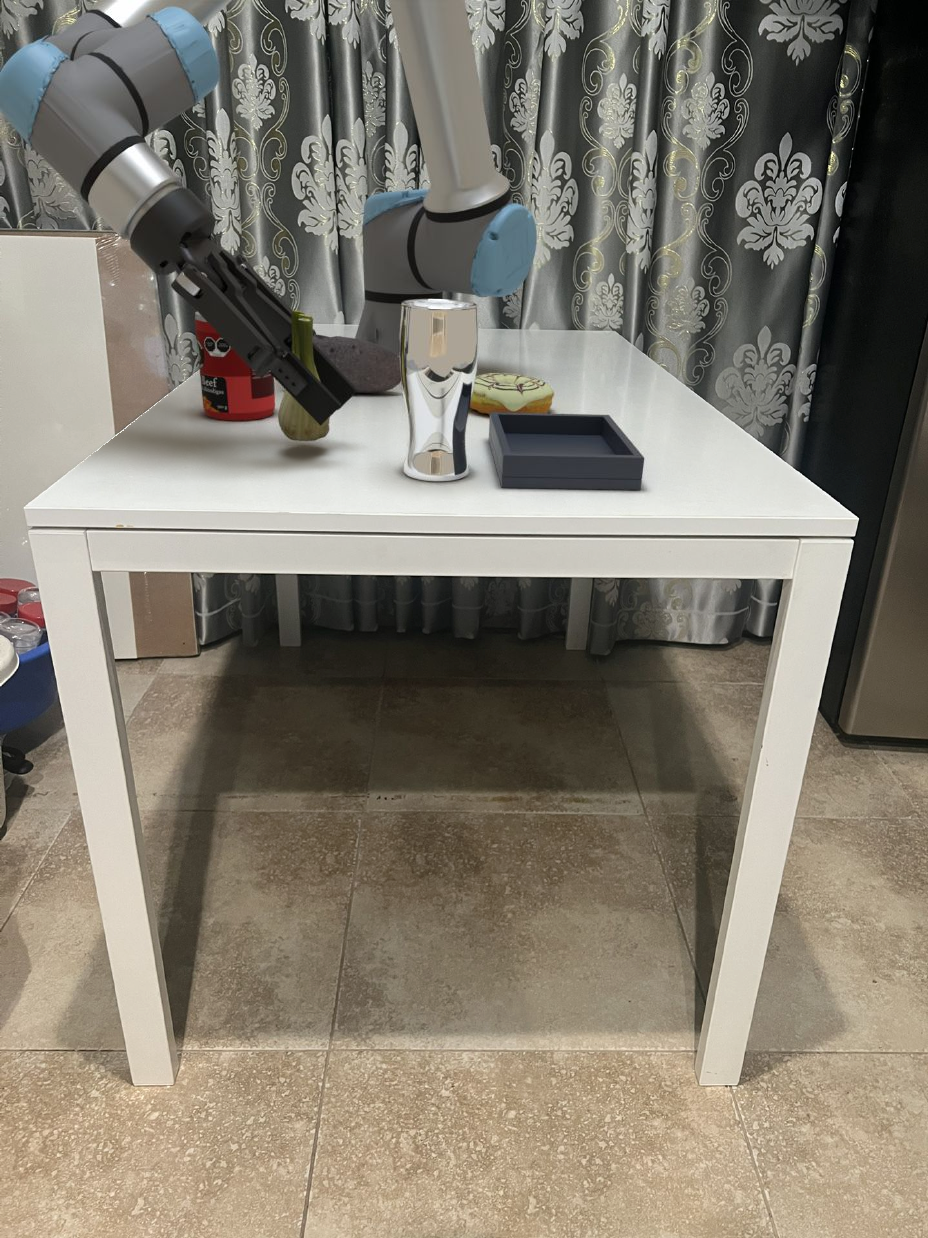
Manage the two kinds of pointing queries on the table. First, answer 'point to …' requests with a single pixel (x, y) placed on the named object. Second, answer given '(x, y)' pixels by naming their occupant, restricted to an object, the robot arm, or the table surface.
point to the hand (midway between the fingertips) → (339, 407)
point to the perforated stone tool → (361, 362)
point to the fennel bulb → (291, 413)
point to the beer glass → (437, 384)
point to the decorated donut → (510, 394)
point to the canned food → (230, 380)
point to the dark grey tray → (563, 452)
